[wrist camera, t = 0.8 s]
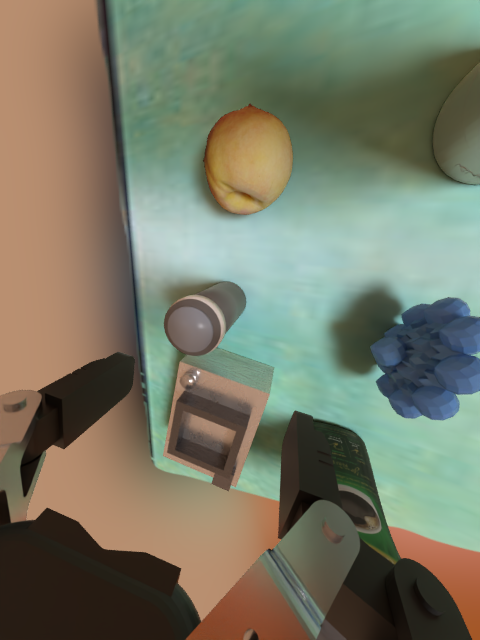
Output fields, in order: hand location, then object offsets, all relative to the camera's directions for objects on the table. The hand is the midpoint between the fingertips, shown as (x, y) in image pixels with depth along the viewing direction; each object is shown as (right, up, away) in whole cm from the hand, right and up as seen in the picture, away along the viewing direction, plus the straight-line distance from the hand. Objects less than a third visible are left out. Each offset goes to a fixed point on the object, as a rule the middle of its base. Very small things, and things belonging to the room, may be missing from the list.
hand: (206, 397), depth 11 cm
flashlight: (0, +6, +19) cm, 20 cm away
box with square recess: (-1, -8, +23) cm, 25 cm away
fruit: (+3, +19, +14) cm, 24 cm away
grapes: (+18, +2, +16) cm, 24 cm away
